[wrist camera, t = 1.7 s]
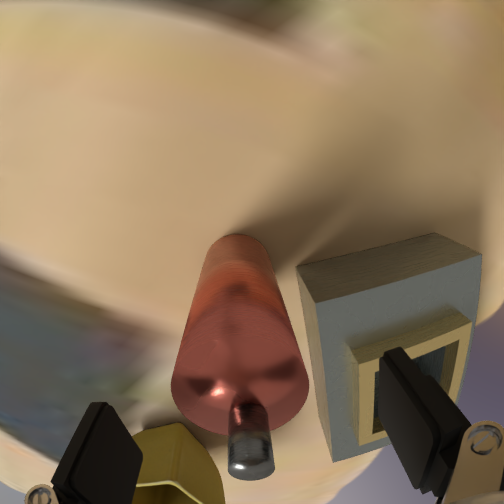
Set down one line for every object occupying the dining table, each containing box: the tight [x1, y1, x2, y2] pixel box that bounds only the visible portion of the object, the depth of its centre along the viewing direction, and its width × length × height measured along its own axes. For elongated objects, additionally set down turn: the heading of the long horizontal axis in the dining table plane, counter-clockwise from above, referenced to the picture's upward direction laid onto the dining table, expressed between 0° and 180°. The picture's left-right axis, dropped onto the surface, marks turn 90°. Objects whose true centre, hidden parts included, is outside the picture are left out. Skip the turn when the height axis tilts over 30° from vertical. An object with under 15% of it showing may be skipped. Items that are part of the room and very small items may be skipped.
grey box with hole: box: [296, 233, 482, 463], centre depth 21 cm, size 16×12×8 cm
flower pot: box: [132, 423, 225, 504], centre depth 23 cm, size 9×9×9 cm
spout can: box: [171, 234, 309, 481], centre depth 15 cm, size 5×5×15 cm
